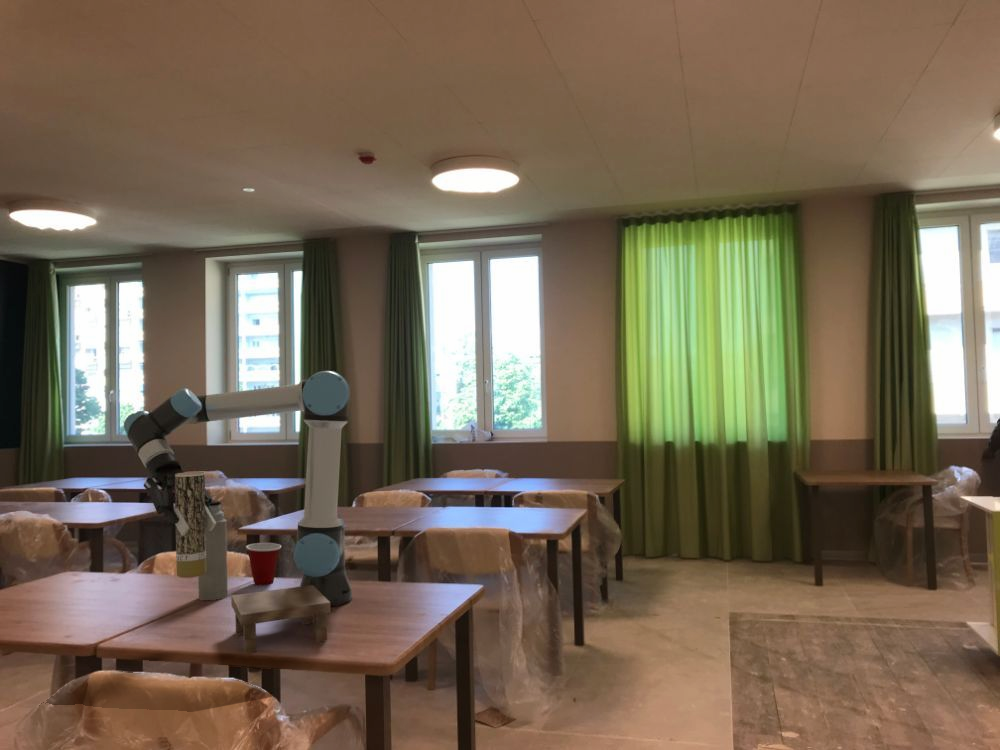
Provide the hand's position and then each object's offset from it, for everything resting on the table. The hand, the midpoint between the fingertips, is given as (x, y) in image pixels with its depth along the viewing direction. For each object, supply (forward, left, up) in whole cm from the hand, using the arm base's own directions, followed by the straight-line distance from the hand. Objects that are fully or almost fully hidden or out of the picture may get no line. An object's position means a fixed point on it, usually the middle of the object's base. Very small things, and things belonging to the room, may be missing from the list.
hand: (199, 529), depth 183 cm
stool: (-17, +9, -26) cm, 33 cm away
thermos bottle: (-6, -41, -26) cm, 49 cm away
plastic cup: (-22, -51, -26) cm, 62 cm away
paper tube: (+2, -3, -12) cm, 12 cm away
